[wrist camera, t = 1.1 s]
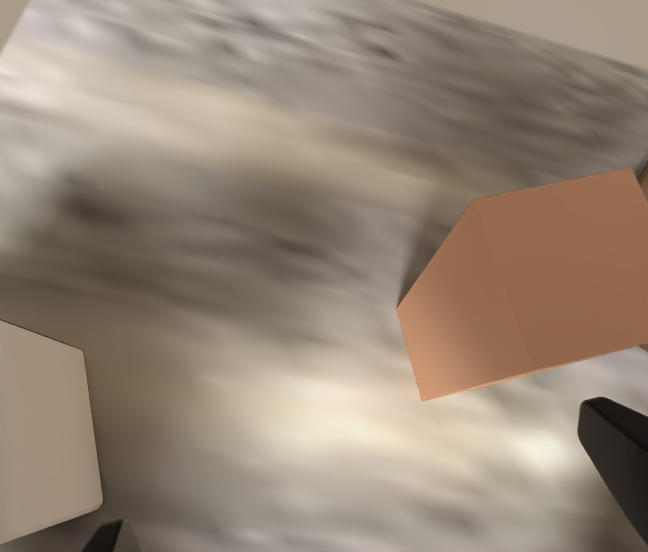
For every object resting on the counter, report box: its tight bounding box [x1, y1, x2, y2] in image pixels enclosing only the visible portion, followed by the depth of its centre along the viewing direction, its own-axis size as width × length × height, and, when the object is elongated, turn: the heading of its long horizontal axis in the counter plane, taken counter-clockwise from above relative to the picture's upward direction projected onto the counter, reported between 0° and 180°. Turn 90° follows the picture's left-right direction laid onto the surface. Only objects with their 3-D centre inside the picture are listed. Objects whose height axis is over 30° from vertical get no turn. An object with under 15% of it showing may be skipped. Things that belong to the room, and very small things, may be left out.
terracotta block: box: [396, 167, 648, 401], centre depth 18 cm, size 4×4×12 cm
